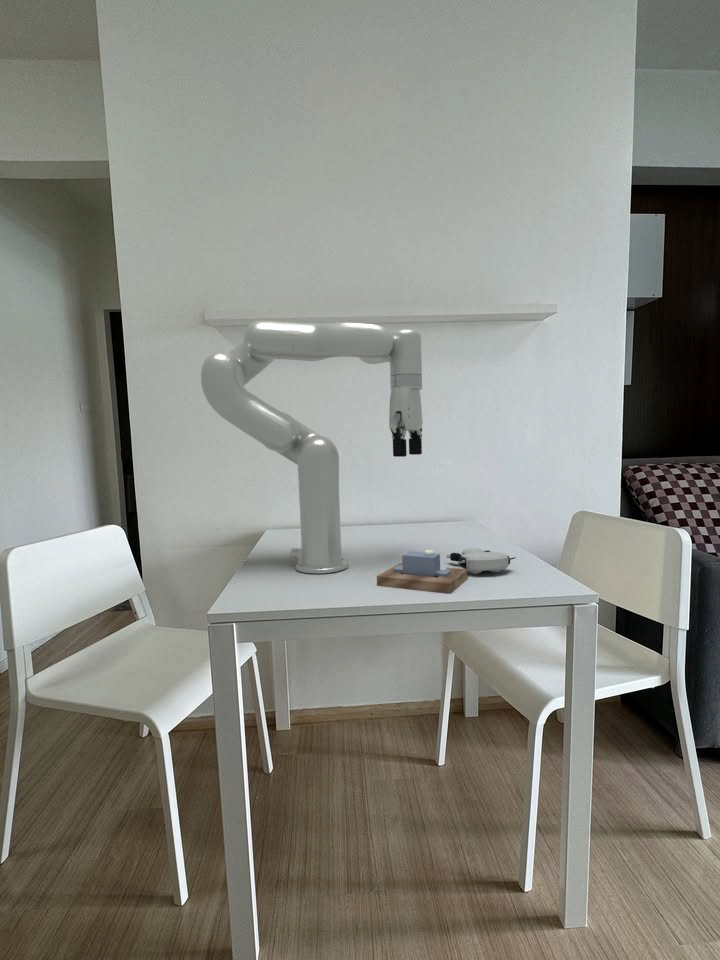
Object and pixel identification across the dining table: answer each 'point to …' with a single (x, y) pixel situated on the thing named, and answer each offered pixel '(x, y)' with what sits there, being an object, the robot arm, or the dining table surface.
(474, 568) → the robot toy
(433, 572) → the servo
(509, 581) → the dining table surface
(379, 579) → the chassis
